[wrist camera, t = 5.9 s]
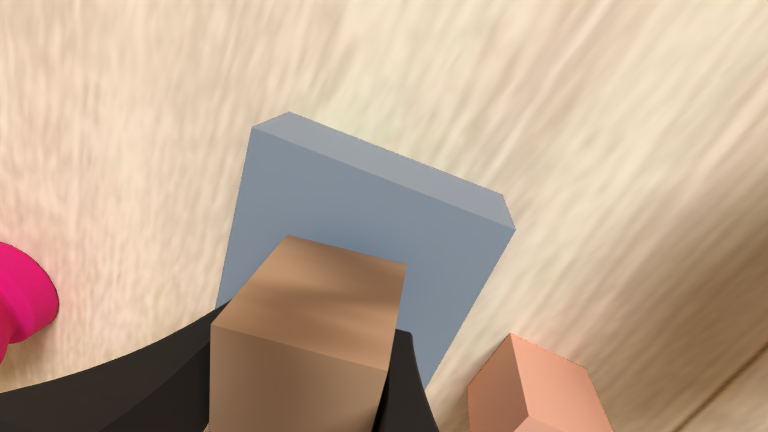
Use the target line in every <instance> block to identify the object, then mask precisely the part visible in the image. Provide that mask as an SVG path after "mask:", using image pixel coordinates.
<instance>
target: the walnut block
mask: <svg viewBox="0 0 768 432" xmlns="http://www.w3.org/2000/svg"><path fill="white" fill-rule="evenodd" d="M406 266H407V264H403V263H399V262H395V261H391V260H387V259H383V258H379V257H375V256H371V255H367V254H363V253H359V252H355V251H351V250H347V249H343V248H339V247H335V246H331V245H327V244H323V243H319V242H315V241H311V240H307V239H303V238H299V237H295V236H291V235H286V237H285V238H284V239H283V240H282V241H281V242H280V244H279V245H278V246H277V247H276V248H275V249H274V251H273V252H272V253H271V254H270V255H269V257H268V258H267V259H266V260H265V261H264V262H263V264H262V265H261V266H260V267H259V268H258V269H257V271H256V272H255V273H254V274H253V275H252V277H251V278H250V279H249V280H248V281H247V282H246V284H245V285H244V286H243V287H242V288H241V289H240V291H239V292H238V293H237V294H236V295H235V296H234V298H233V299H232V300H231V301H230V302H229V304H228V305H227V306H226V307H225V308H224V309H223V311H222V312H221V313H220V314H219V315H218V316H217V318H216V319H215V320H214V321H213V322H212V324H211V339H210V407H209V432H371V431H372V427H373V423H374V420H375V416H376V412H377V409H378V405H379V402H380V398H381V394H382V391H383V387H384V383H385V380H386V376H387V372H388V367H389V362H390V356H391V351H392V345H393V339H394V334H395V328H396V322H397V317H398V311H399V305H400V300H401V294H402V289H403V283H404V277H405V272H406Z"/></svg>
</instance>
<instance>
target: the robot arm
mask: <svg viewBox="0 0 768 432" xmlns="http://www.w3.org/2000/svg"><path fill="white" fill-rule="evenodd" d="M231 300H232V299H231ZM231 300H229V301H228V302H226V303H225V304H223V305H221V306H220V307H218V308H217V309H215V310H213V311H212V312H210V313H208V314H207V315H205V316H203V317H202V318H200V319H198V320H196V321H195V322H193V323H191V324H190V325H188V326H186V327H184V328H182V329H180V330H178V331H177V332H175V333H173V334H171V335H169V336H167V337H165V338H163V339H161V340H159V341H157V342H155V343H153V344H151V345H148V346H146V347H144V348H142V349H139V350H137V351H135V352H132V353H130V354H128V355H125V356H122V357H120V358H117V359H114V360H112V361H109V362H106V363H104V364H101V365H98V366H96V367H93V368H90V369H87V370H84V371H81V372H78V373H75V374H71V375H68V376H65V377H61V378H58V379H55V380H51V381H47V382H44V383H40V384H36V385H32V386H28V387H24V388H20V389H16V390H12V391H8V392H4V393H0V432H203V431H204V429H205V428H206V426H207V424H208V423H209V407H210V339H211V324H212V322H213V321H214V320H215V319H216V318H217V316H218V315H219V314H220V313H221V312H222V311H223V309H224V308H225V307H226V306H227V305H228V304H229V302H230V301H231ZM371 432H439V429H438V427H437V425H436V422H435V420H434V417H433V415H432V412H431V409H430V406H429V403H428V401H427V398H426V395H425V392H424V388H423V385H422V381H421V378H420V374H419V370H418V366H417V362H416V357H415V352H414V346H413V336H412V334H411V333H410V332H407V331H403V330H400V329H396V328H395V334H394V339H393V345H392V351H391V356H390V362H389V367H388V372H387V376H386V380H385V383H384V387H383V391H382V394H381V398H380V402H379V405H378V409H377V412H376V416H375V420H374V423H373V427H372V431H371Z"/></svg>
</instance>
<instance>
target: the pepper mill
mask: <svg viewBox="0 0 768 432" xmlns="http://www.w3.org/2000/svg"><path fill="white" fill-rule="evenodd" d="M57 310H58V298H57V294H56V290H55V287H54V286H53V284H52V282H51V280H50V278H49V277H48V275H47V274H46V273H45V272H44V270H43V269H42V268H41V267H40V266H39V265H38V264H37V263H36V262H35V261H34V260H33V259H32V258H31V257H29V256H28V255H27V254H25V253H24V252H22V251H20V250H18V249H17V248H15V247H13V246H11V245H9V244H5V243H2V242H0V364H1V362H2V360H3V358H4V356H5V353H6V350H7V346H8V344H12V343H18V342H21V341H24V340H25V339H27V338H28V337H30V336H31V335H33V334H34V333H36V332H37V331H38V330H40V329H41V328H43V327H44V326H46V325H47V324H49V323H50V322H51V321H52V320H53V319H54V317H55V315H56V312H57Z"/></svg>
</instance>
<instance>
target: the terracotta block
mask: <svg viewBox="0 0 768 432" xmlns="http://www.w3.org/2000/svg"><path fill="white" fill-rule="evenodd" d="M467 392H468V408H469V424H470V432H613V430H612V428H611V425H610V423H609V421H608V418H607V416H606V414H605V412H604V409H603V407H602V405H601V402H600V400H599V398H598V395H597V393H596V391H595V389H594V386H593V384H592V382H591V379H590V377H589V375H588V373H587V370H586V368H584V367H581V366H579V365H577V364H575V363H573V362H571V361H569V360H567V359H565V358H562V357H560V356H558V355H556V354H554V353H552V352H550V351H548V350H546V349H543V348H541V347H539V346H537V345H535V344H533V343H531V342H529V341H527V340H524V339H522V338H520V337H518V336H516V335H514V334H512V333H510V334H509V335H508V336H507V337H506V339H505V340H504V341H503V342H502V344H501V345H500V346H499V347H498V349H497V350H496V351H495V352H494V354H493V355H492V356H491V357H490V359H489V360H488V361H487V362H486V364H485V365H484V366H483V368H482V369H481V370H480V371H479V373H478V374H477V375H476V376H475V378H474V379H473V380H472V381H471V383H470V384H469V385H468V386H467Z"/></svg>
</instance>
